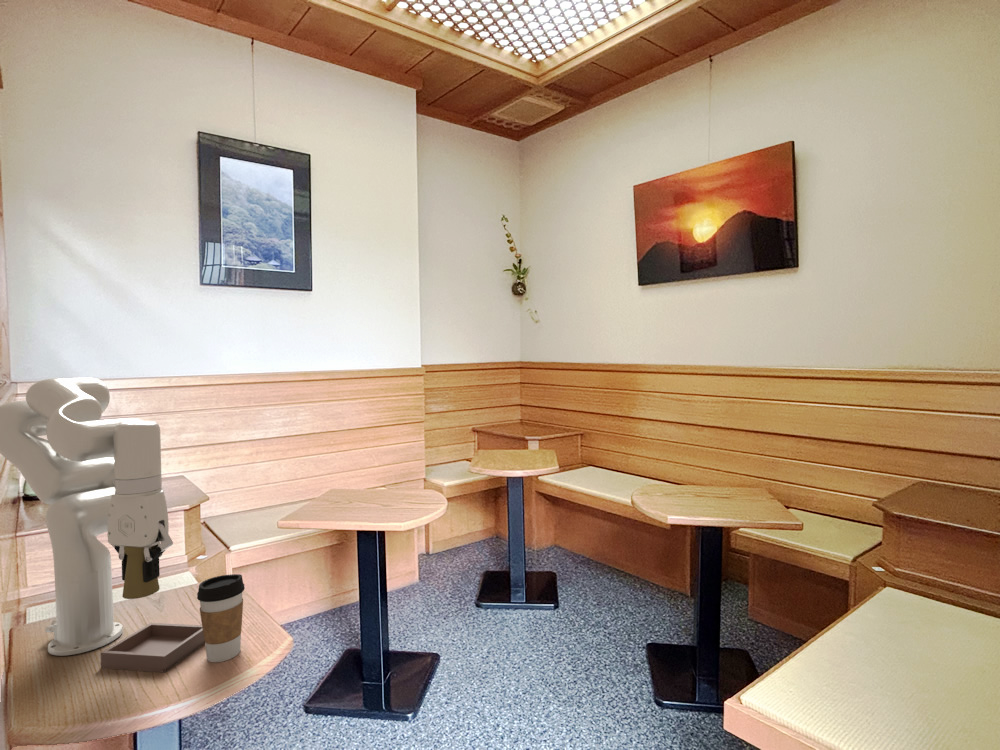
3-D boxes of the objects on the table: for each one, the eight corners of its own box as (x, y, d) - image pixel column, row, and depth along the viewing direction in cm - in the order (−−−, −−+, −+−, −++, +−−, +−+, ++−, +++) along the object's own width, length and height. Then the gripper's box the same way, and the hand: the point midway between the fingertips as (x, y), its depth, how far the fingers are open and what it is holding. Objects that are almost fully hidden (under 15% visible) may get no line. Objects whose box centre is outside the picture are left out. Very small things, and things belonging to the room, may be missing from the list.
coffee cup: (227, 667, 100) (224, 589, 100) (189, 664, 102) (186, 587, 102) (256, 644, 108) (253, 572, 108) (220, 642, 110) (217, 570, 110)
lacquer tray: (101, 668, 102) (100, 652, 102) (151, 636, 113) (151, 622, 113) (165, 672, 99) (164, 656, 99) (210, 639, 111) (209, 625, 111)
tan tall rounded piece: (156, 583, 107) (154, 529, 107) (162, 592, 103) (161, 536, 102) (119, 592, 103) (118, 536, 103) (125, 602, 98) (123, 543, 98)
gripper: (84, 488, 100) (87, 583, 101) (158, 491, 97) (161, 590, 97) (120, 479, 108) (122, 568, 108) (190, 482, 104) (192, 574, 105)
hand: (141, 577), depth 103 cm, fingers closed on tan tall rounded piece, 4 cm apart
